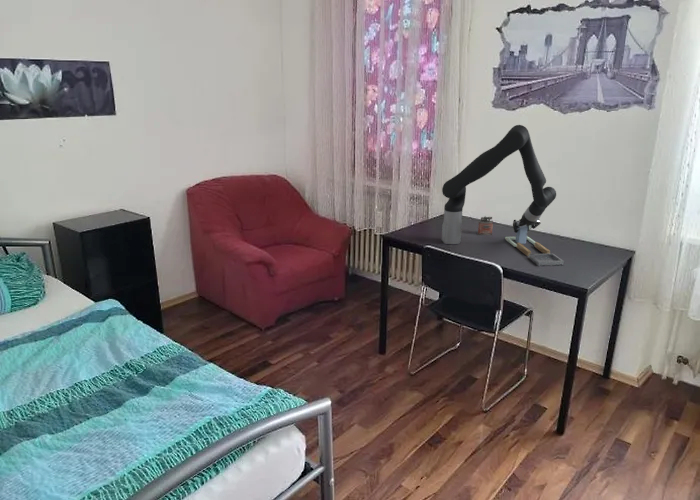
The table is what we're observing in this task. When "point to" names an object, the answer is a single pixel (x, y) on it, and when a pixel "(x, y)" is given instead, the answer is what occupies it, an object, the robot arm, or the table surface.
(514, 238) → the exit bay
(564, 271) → the table surface
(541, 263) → the tray
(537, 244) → the rail channel
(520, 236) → the block
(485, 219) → the lighter
